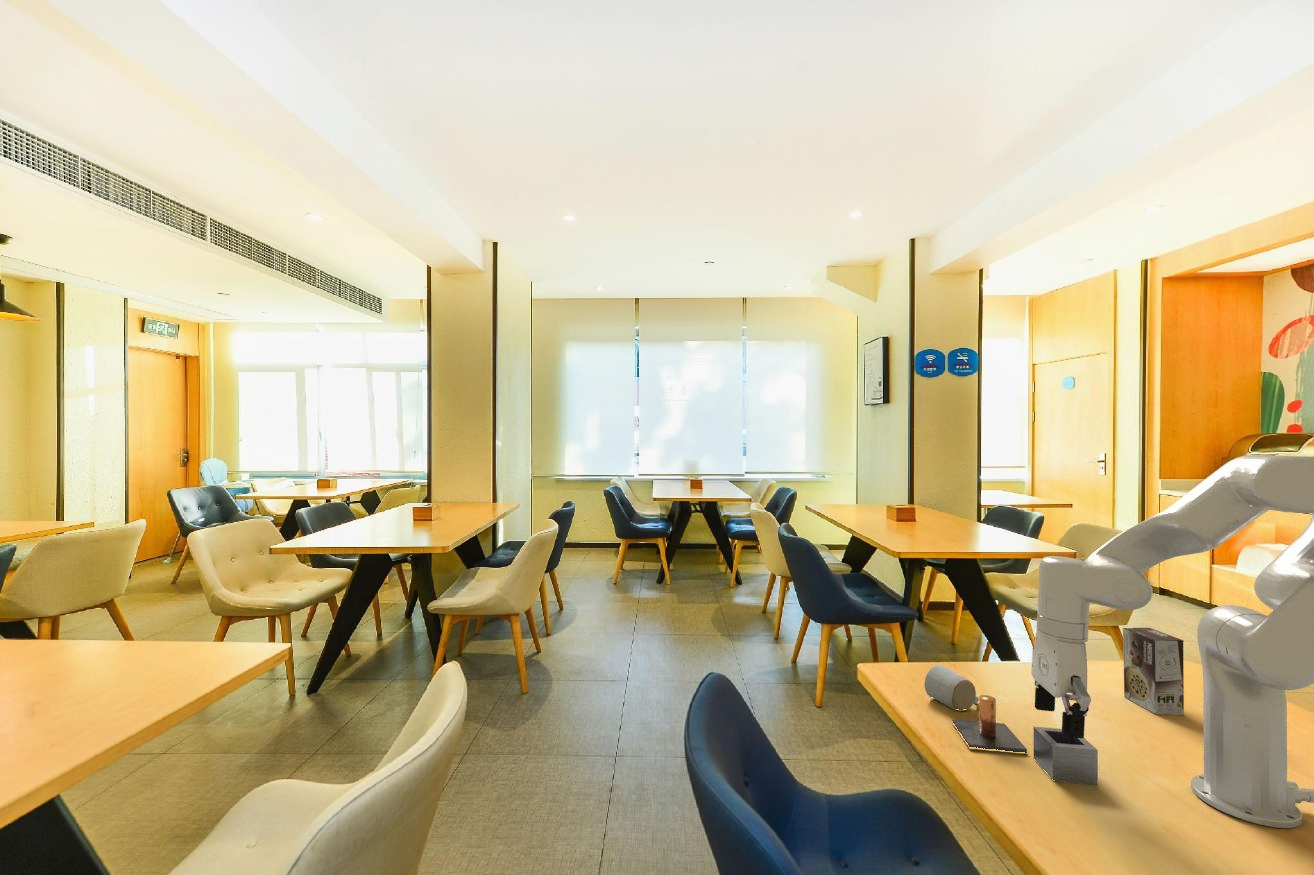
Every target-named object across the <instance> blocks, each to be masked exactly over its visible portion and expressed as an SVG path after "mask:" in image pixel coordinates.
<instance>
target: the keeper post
mask: <svg viewBox="0 0 1314 875" xmlns="http://www.w3.org/2000/svg"><path fill="white" fill-rule="evenodd" d="M978 697H979V700H978V703H979V712H978V714H979V721H977V720H975V721H974V720H965V719H951V722H952V721H953V723H954V724H955V726H956V727H957V729H958V731H959V732H960V733H961V734H962V736H963V738H964V739H965V741H966V742H967V743H968V745H969V747H976V748H977V747H978V748H983V749H984V748H985V749H996V750H997V749H998V750H1005V751H1013V752H1025V753H1027V754H1028V749H1027V748H1026V746H1025V745H1024V744H1023V743H1022V741H1021V740H1019V738H1018V737H1017V736H1016V735H1015V734H1014V732H1012V730H1011V729H1010V728H1009V727H1008V725H1006V723H1001V722H996V721H997V719H996V718H997V717H996V716H997V713H996V712H997V706H996V705H997V704H996V703H997V700H996V698H995V697H993V696H991V695H988V694H987V695H986V694H980V695H979V696H978Z"/></svg>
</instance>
